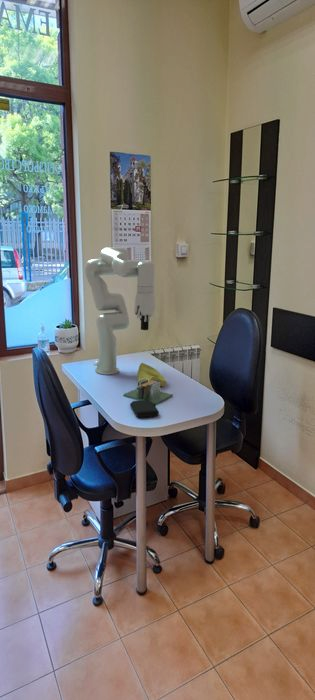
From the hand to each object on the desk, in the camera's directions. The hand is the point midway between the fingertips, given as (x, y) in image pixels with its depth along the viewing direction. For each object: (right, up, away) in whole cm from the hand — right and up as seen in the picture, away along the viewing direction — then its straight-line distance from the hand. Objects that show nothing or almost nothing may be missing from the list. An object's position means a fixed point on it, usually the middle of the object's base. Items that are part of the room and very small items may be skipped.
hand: (144, 329), depth 206 cm
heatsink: (+2, -30, -2) cm, 31 cm away
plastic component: (+3, -26, +19) cm, 32 cm away
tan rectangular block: (+2, -29, -2) cm, 29 cm away
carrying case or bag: (+1, -36, -19) cm, 40 cm away
